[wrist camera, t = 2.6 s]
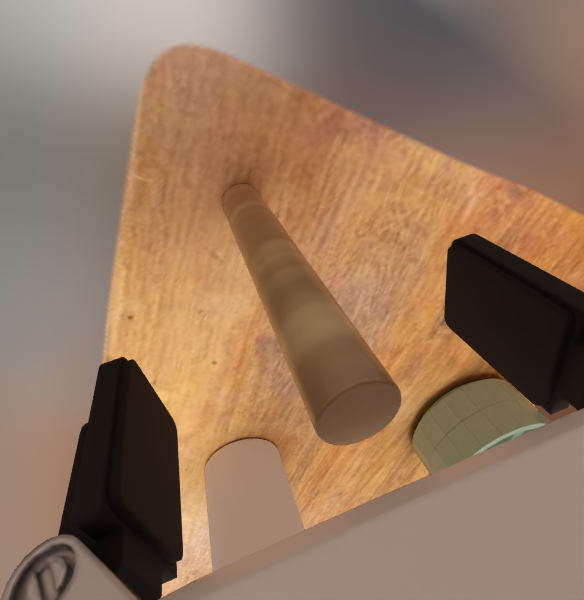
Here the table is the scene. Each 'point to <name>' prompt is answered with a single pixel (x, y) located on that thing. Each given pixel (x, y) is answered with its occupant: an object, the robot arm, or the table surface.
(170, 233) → the table surface
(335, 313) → the stick
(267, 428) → the table surface
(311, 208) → the table surface
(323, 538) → the robot arm
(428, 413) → the bowl
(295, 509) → the mug
